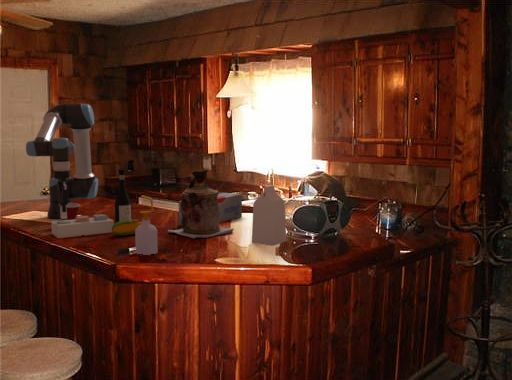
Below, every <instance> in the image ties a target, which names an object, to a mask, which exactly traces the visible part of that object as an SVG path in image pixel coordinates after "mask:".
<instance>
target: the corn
mask: <svg viewBox="0 0 512 380" xmlns="http://www.w3.org/2000/svg"><path fill="white" fill-rule="evenodd" d="M130 221H131V222H130ZM141 224H142V221H138V219H131V220H125V221H119V222H117V223H114V225H113V227H112V232H111V233H112V234H114V235H116V236H117V237H118V236H120V237H125V236H131V235H135V230H136V228H137V227H138V226H140V225H141Z"/></svg>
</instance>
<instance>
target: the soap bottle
mask: <svg viewBox="0 0 512 380" xmlns="http://www.w3.org/2000/svg"><path fill="white" fill-rule="evenodd" d="M140 197H141V198H143V199H146V200H149V201H150V210H141V211H139V213H140V214H142V215H141V216H143V217H142V218H141V222H142V224H141V225H140V226H138V227H137V228H136V230H135V234H134V235H135V254H136V253H137V254H136V255H138V254H143V255H148V256H152V255H151V254H154V255H157V253H158V252H159V251H158V247H159V246H158V229H157V227H156V226H155V225H153V224H151V218H149V215H150V214H151V213H152V212H153V211H154V201H153V198H152V197H151V196H147V195H143V194H142V195H141V196H140Z"/></svg>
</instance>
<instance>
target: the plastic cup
mask: <svg viewBox="0 0 512 380" xmlns="http://www.w3.org/2000/svg"><path fill="white" fill-rule="evenodd" d="M59 206H60V205H59ZM80 207H81V204H80V203H76V202H72V203H68V204H67V218H66V219H62V220H73V219H76V217H78V216H79V210H80Z"/></svg>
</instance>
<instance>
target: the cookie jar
mask: <svg viewBox="0 0 512 380" xmlns="http://www.w3.org/2000/svg"><path fill="white" fill-rule="evenodd" d="M208 172H209V171H208V169H207V168H205V169H204V170H194V171H192V172H191V174H188V175H187V176H186V182H187V184H189V185H188V188H186V189H185V190H184V191H183V192H182V193H181V195H180V196H181V197H180V198H181V200H180V201H181V208H180V209H181V212H182V226H181V228H180V229H174V230H173V229H168V230H167V232H168V233H175V234H177V235H180V236H184V237H188V238H191V239H193V240H194V239H196V238H204V239H206V238H210V237H215V236H220V235H224V234H225V235H226V234H233V233H234V232H233V231H234V230H235V229H234V228H228V227H227V228H226V227H220V225H219V224H220V222H219V221H220V213H219V206H218V199H217V196H218V194H219V193H220V192H219V191H218V190H216V189H213V188H210V187H209V186H208V185H207V181H208V179H209V178H208Z"/></svg>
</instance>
